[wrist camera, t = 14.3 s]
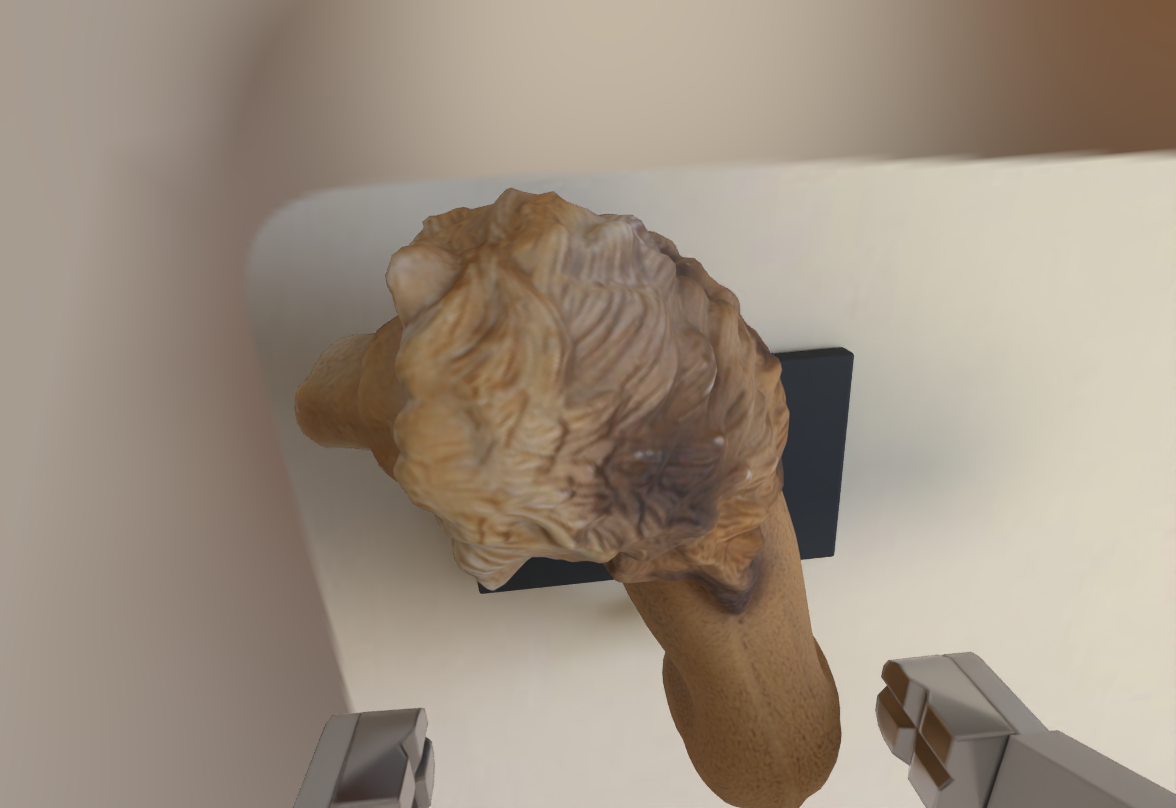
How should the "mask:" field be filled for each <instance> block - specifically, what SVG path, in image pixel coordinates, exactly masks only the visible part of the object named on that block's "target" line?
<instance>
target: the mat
mask: <svg viewBox="0 0 1176 808" xmlns="http://www.w3.org/2000/svg"><path fill="white" fill-rule="evenodd" d="M773 355H774V356H776V357H777V358H779V361H780V363H781V368H782V372H781V375H780V380H781V383H782V385H783V388H784V392H785V396H786V405H787V407H788V410H789V427H788V436H787V442H786V445H785V448H784V450H783V453H782V456H781V460H782V466H783V475H784V486H783V488H782V492H783V495H784V498H785V501H786V505H787V508H788V511H789V514H790V517H791V521H792V524H793V527H794V531H795V535H796V538H797V543H798V548H799V553H800V560H803V559H813V558H822V557H831V556H834V551H835V541H836V531H837V521H838V511H839V501H840V491H841V480H842V470H843V460H844V450H845V440H846V430H847V420H848V410H849V400H850V390H851V380H852V370H853V360H854V355H853V353H852V352H850V351H848V350H847V349H845V348H843V347H841V348H831V349H820V350H810V351H800V352H790V353H779V354H773ZM606 580H614V579H613V577H612V576H611V575H610V573H609V572H608V570H607V569H606V567H605V566H604V565H603V563H596V562H592V561H578V562H570V561H567V560H563V559H561V560H555V559H551V558H547V557H531V558H530V559H529V560H527V561H526V562H525V563H524V564H523V565H522V566H521V567H520V568H519V569H518V570H517V571H516V573H515V574H514V575H513V576H512V577H511V578H510V579H509V580H508V581H507V582H506V583H505V584H504V585H502V586H500V587H499V588H497V589H495V590H494V591H492V590H489V589H487V588H486V587H484V586H483V585H482V584H480V583H479V582H478V581H477V582H478V588H479V592H480V593H481V594H484V593H494V592H503V591H513V590H522V589H531V588H541V587H550V586H559V585H569V584H578V583H588V582H597V581H606Z"/></svg>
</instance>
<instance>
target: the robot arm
mask: <svg viewBox="0 0 1176 808" xmlns="http://www.w3.org/2000/svg"><path fill="white" fill-rule="evenodd" d="M881 677H882V679H883V680H884V682H885V683H886V684H887V686H886V687H885V688H884V689H883V690H882V691H881V692H880V693H879V694H878V695H877V702H876V709H875V711H876V716H877V721H878V726H879V729H880V731H881V734H882V736H883V738H884V741H885V742H886V744H887V746H888V747H889V749H890V750H891V752H892V754H894V755H895V756H896V757H898V758H899V759H901V760H902V761H904V762H905V763H906V764H908V765H909V772H908V780H909V781H910V783H911V784H912V786H913V788H914V789H915V791H916V792H917V794H918V796H919V797H920V799H921V800H922V802H923V804H924V805H925V807H926V808H1176V794H1174V793H1172V792H1170V791H1168V790H1167V789H1165V788H1163V787H1161V786H1159V785H1157V784H1156V783H1154V782H1152V781H1150V780H1148V779H1146V778H1145V777H1143V776H1141V775H1139V774H1137V773H1135V772H1134V771H1132V770H1130V769H1128V768H1126V767H1124V766H1123V765H1121V764H1119V763H1117V762H1115V761H1113V760H1112V759H1110V758H1108V757H1106V756H1104V755H1102V754H1101V753H1099V752H1097V751H1095V750H1093V749H1091V748H1090V747H1088V746H1086V745H1084V744H1082V743H1080V742H1079V741H1077V740H1075V739H1073V738H1071V737H1069V736H1068V735H1066V734H1064V733H1062V732H1060V731H1058V730H1056V731H1049V730H1048V729H1047V728H1046V727H1045V726H1044V725H1043V724H1042V723H1041V722H1040V720H1039V719H1038V718H1037V717H1036V716H1035V715H1034V714H1033V713H1032V712H1031V711H1030V710H1029V709H1028V708H1027V707H1026V706H1025V704H1024V703H1023V702H1022V701H1021V700H1020V699H1019V698H1018V697H1017V696H1016V695H1015V694H1014V693H1013V692H1012V691H1011V690H1010V688H1009V687H1008V686H1007V685H1006V684H1005V683H1004V682H1003V681H1002V680H1001V679H1000V678H999V677H998V676H997V675H996V674H995V673H994V671H993V670H992V669H991V668H990V667H989V666H988V665H987V664H986V663H985V662H984V661H983V660H982V659H981V658H980V657H979V656H978V655H976V654H974V653H972V652H963V653H953V654H944V655H931V656H922V657H913V658H905V659H896V660H888V661H887V663H886V664H885V665H884V666H883V670H882V675H881ZM427 726H428V720H427V716H426V712H425V709H424V708H413V709H399V710H386V711H372V712H362V713H350V714H338V715H332V716H331V718H330V719H329V721H328V722H327V723H326V724H325V727H324V729H323V732H322V734H321V737H320V739H319V742H318V745H317V747H316V750H315V752H314V755H313V757H312V760H311V762H310V765H309V768H308V770H307V773H306V775H305V778H304V780H303V783H302V786H301V788H300V791H299V793H298V796H297V798H296V801H295V803H294V806H293V808H429V806H430V805H431V800H432V793H433V787H434V770H435V763H434V750H433V745H432V741H430V740H429V739H428V738H427V737H426V731H427Z"/></svg>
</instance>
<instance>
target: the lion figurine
mask: <svg viewBox="0 0 1176 808" xmlns="http://www.w3.org/2000/svg"><path fill="white" fill-rule="evenodd" d="M423 226H424V227H423V230H422V231H421V232H420V233H419V234H418V235H417V236H416V237H415V238H414V241H412V242H411V243H410V244H409V246H405V247H402V248H400V249H399V250H398V251H397V252H395V253H394V254H393V255H392V257H391V260H390V263H389V266H388V269H387V272H386V282H387V286H388V288H389V290H390V292H391V294H392V296H393V301H394V305H395V309H396V312H397V314H398V316H396V317H395V318H393V319H392V320H390V321H389V322H387V323H386V324H384V325H383V326H382V327H381V328H380V329H378V330H377V332H376V333H374V334H365V335H352V336H348V337H344V338H341V339H339V340H337V341H336V342H334V343H333V344H331V345H330V346H329V347H328V348H327V349H326V350H325V351H324V352H323V353H322V355H321V356H320V358H319V359H318V361H317V362H316V364H315V366H314V368H313V370H312V372H311V374H310V376H309V377H308V378H307V379H306V380H305V381H304V382H303V383H302V384H301V385H300V386H299V388H298V390H297V392H296V398H295V413H296V419H297V423H298V425H299V427H300V429H301V431H302V432H303V434H305V435H306V436H307V437H309V438H310V439H311V440H313V441H314V442H316V443H317V444H319V445H321V446H324V447H339V448H357V449H365V450H372V452H373V454H374V456H375V458H376V460H377V462H378V464H379V466H380V467H381V468H382V469H383V470H384V471H385V472H386V473H387V474H388V475H389V476H390V477H392V478H393V479H394V480H395V481H397V482H398V483H399V484H400V486H401V487H402V489H403V490H404V491H405V493H406V494H407V496H408V497H409V498H410V500H411V501H412V503H414V504H416V505H417V506H419V507H421V508H423V509H425V510H428V511H431V512H433V513H434V514H435V516H436V518H437V521H438V523H439V526H440V527H441V528H442V529H443V531H444V532H445V533H446V534H447V535H448V536H450V537H451V540H452V547H453V554H454V559H455V561H456V562H457V564H458V566H459V567H460V568H461V569H463V570H464V571H465V572H467V573H469V574H471V575H475V577H476V579H477V581H478V582H479V583H480V584H482V585H483V586H484V587H486V588H487V589H489V590H492V591H494V590H495V589H497V588H499V587H500V586H502V585H504V584H505V583H506V582H507V581H508V580H509V579H510V578H511V577H512V576H513V575H514V574H515V573H516V571H517V570H518V569H519V568H520V567H521V566H522V565H523V564H524V563H525V562H526V561H527V560H529V559H530V558H531V557H547V558H551V559H555V560H561V559H563V560H567V561H570V562H578V561H592V562H596V563H603V565H604V566H605V567H606V569H607V570H608V572H609V573H610V575H611V576H612V577H613V579H614V580H615V581H618V582H622V583H623V584H624V586H625V589H626V591H627V593H628V595H629V596H630V598H631V600H632V601H633V603H634V605H635V606H636V608H637V610H638V612H639V613H640V615H641V617H642V618H643V620H644V622H645V623H646V625H647V627H648V628H649V629H650V631H651V632H652V634H653V635H654V636H655V638H656V639H657V641H658V642H659V643H660V645H661V646H662V648H663V649H664V650H665V655H664V659H663V671H662V675H663V685H664V689H665V693H666V697H667V702H668V705H669V709H670V712H671V715H672V718H673V720H674V723H675V726H676V728H677V730H678V732H679V733H680V735H681V737H682V739H683V741H684V744H685V747H686V750H687V752H688V755H689V757H690V759H691V761H692V763H693V765H694V767H695V769H696V771H697V772H698V774H699V775H700V777H701V778H702V780H703V781H704V782H705V784H706V785H707V786H708V787H709V788H710V789H711V790H712V791H713V792H714V793H715V794H716V795H717V796H719V797H720V798H721V799H722V800H723V801H724V802H726V803H728V804H730V805H733V806H736V807H740V808H799V807H800V806H801V805H802V804H803V802H804V801H805V800H806V799H807V798H808V797H809V796H811V795H812V794H814V793H815V792H817V791H818V790H820V789H821V787H822V786H823V785H824V784H825V782H826V781H827V779H828V777H829V775H830V773H831V771H832V769H833V767H834V765H835V764H836V761H837V757H838V752H839V748H840V744H841V725H840V705H839V696H838V692H837V688H836V685H835V681H834V678H833V675H832V673H831V670H830V668H829V665H828V663H827V660H826V658H825V656H824V654H823V652H822V650H821V648H820V646H819V645H818V643H817V641H816V639H815V638H814V636H813V634H812V629H811V623H810V617H809V610H808V604H807V598H806V591H805V585H804V579H803V573H802V567H801V560H800V553H799V548H798V543H797V538H796V535H795V531H794V527H793V524H792V521H791V517H790V514H789V511H788V508H787V505H786V501H785V498H784V495H783V492H782V488H783V486H784V475H783V466H782V460H781V456H782V453H783V450H784V448H785V445H786V442H787V436H788V427H789V410H788V407H787V405H786V396H785V392H784V388H783V385H782V383H781V380H780V375H781V372H782V368H781V363H780V361H779V358H777V357H776V356H774V355H773V354H771V353H770V351H769V349H768V347H767V346H766V345H765V343H764V342H763V341H762V339H761V338H760V337H759V335H758V334H757V332H756V331H755V330H754V329H753V328H751V327H750V326H748V325H747V324H746V322H745V321H744V319H743V318H742V316H741V315H740V304H739V300H738V299H737V297H736V295H735V294H734V293H733V292H732V291H731V290H729V289H728V288H726V287H724V286H722V285H719V284H718V283H717V282H716V281H715V280H714V279H713V278H711V277H710V276H709V275H708V273H707V272H706V271H705V269H704V268H703V267H702V264H701V263H700V262H698V261H697V260H696V259H695V258H686V257H682V256H680V255H679V252H678V250H677V248H676V245H675V244H674V243H673V242H672V241H671V240H669V239H667V238H665V237H663V236H661V235H659V234H658V233H655V232H651V231H647V229H646V228H645V226H644V224H643V223H642V221H641V220H639V219H638V218H636V217H634V216H633V215H615V214H603V215H596V214H595V213H593V212H592V211H590V210H588V209H585V208H582V207H580V206H577V205H574V204H571V203H569V202H566V201H565V200H563V199H562V198H561V197H559V196H558V195H557V194H556V193H555V192H548V193H544V194H540V195H537V194H531V193H526V192H521V191H519V190H516V189H513V188H509V189H506V190H505V191H504V192H503V193H502V194H501V195H500V197H499V198H498V199H497V200H496V202H495V203H494V204H491V205H487V206H483V207H479V208H475V209H469V208H466V207H462V208H456V209H453V210H451V211H449V212H447V213H444V214H441V215H437V216H429V217H428V218H427V219H425V220H424V221H423Z"/></svg>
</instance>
